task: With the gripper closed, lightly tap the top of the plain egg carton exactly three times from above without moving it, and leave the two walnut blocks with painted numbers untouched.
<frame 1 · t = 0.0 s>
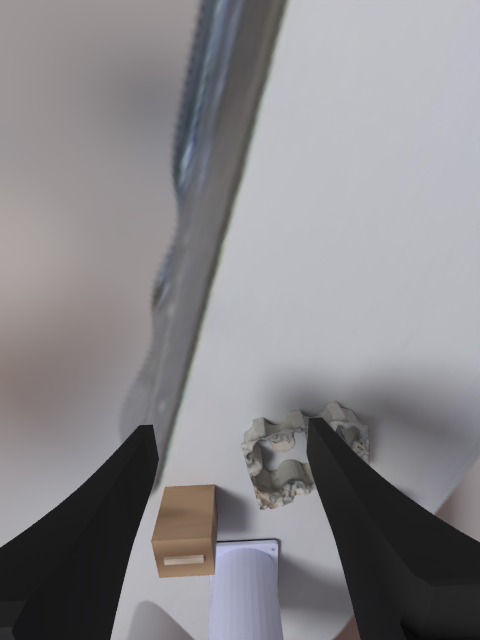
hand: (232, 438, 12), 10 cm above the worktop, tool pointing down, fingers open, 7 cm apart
egg carton: (298, 433, 26), on the worktop
numbered block one: (192, 502, 28), on the worktop
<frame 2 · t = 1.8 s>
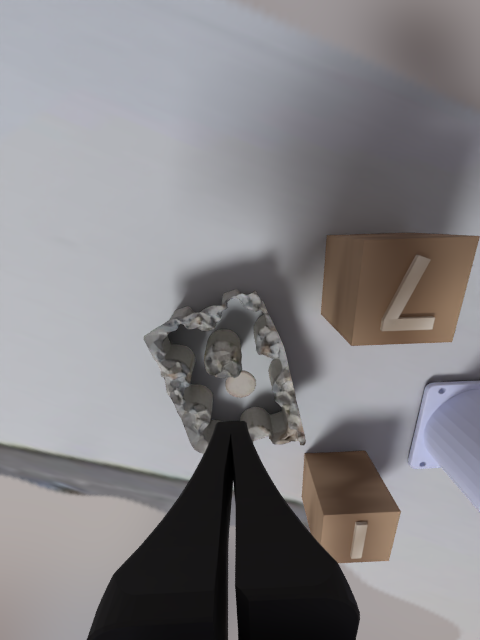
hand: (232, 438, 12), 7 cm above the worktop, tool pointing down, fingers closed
egg carton: (230, 362, 19), on the worktop
numbered block seven: (362, 275, 17), on the worktop
numbered block one: (332, 473, 23), on the worktop
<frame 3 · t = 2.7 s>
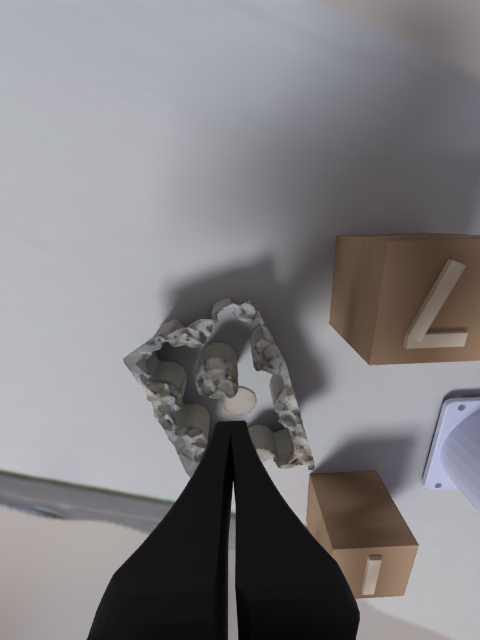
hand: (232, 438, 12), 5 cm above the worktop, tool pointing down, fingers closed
egg carton: (226, 377, 17), on the worktop
numbered block seven: (376, 280, 15), on the worktop
numbered block one: (339, 495, 21), on the worktop
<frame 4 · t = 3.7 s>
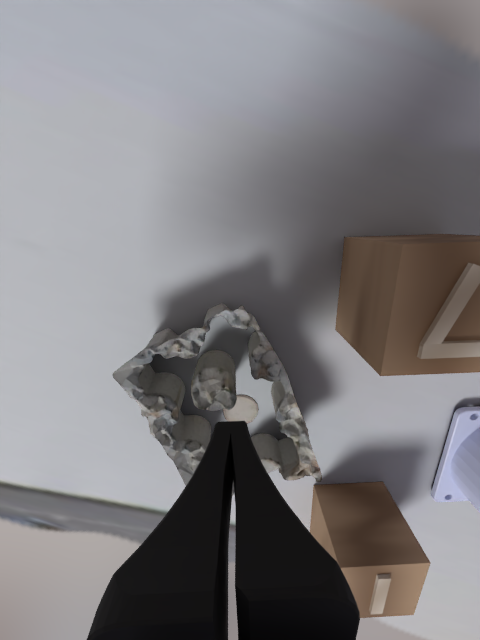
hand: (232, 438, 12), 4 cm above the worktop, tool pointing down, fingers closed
egg carton: (226, 386, 17), on the worktop
numbered block seven: (385, 284, 14), on the worktop
numbered block one: (344, 506, 20), on the worktop
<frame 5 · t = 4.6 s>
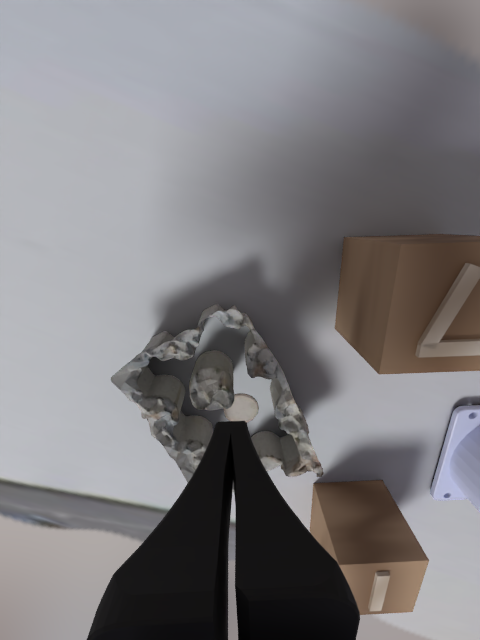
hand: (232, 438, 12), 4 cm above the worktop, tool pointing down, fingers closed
egg carton: (225, 386, 17), on the worktop
numbered block seven: (384, 283, 15), on the worktop
numbered block one: (344, 504, 20), on the worktop
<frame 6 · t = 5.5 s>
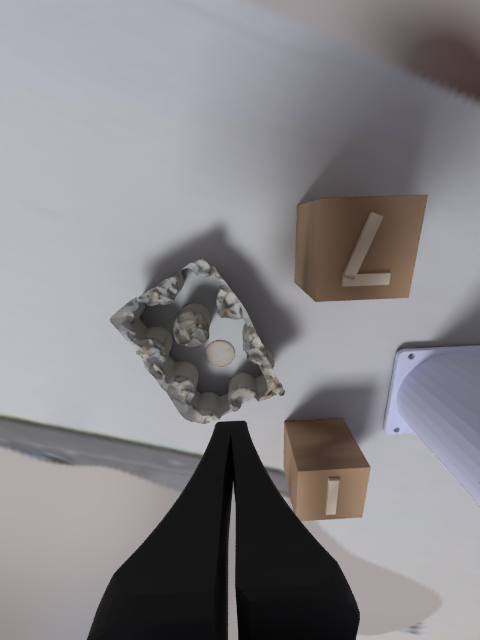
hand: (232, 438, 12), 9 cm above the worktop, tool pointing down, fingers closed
egg carton: (206, 335, 20), on the worktop
numbered block seven: (332, 244, 18), on the worktop
numbered block one: (311, 441, 24), on the worktop
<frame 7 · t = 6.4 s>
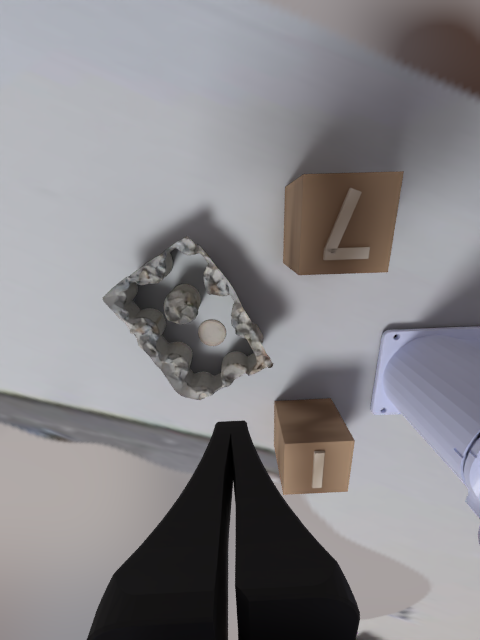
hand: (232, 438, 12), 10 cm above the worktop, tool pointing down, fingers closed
egg carton: (198, 315, 21), on the worktop
numbered block seven: (319, 225, 19), on the worktop
numbered block one: (301, 421, 25), on the worktop
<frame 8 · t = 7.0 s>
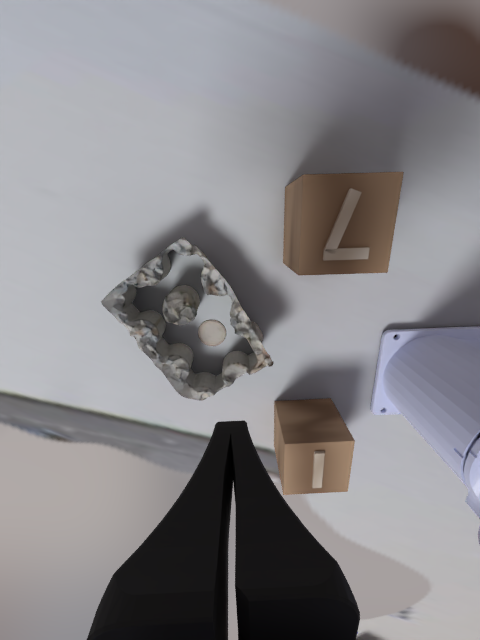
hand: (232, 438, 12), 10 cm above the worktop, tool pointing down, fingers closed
egg carton: (197, 316, 21), on the worktop
numbered block seven: (319, 225, 19), on the worktop
numbered block one: (301, 421, 25), on the worktop
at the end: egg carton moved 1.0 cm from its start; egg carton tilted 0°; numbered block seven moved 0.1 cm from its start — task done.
